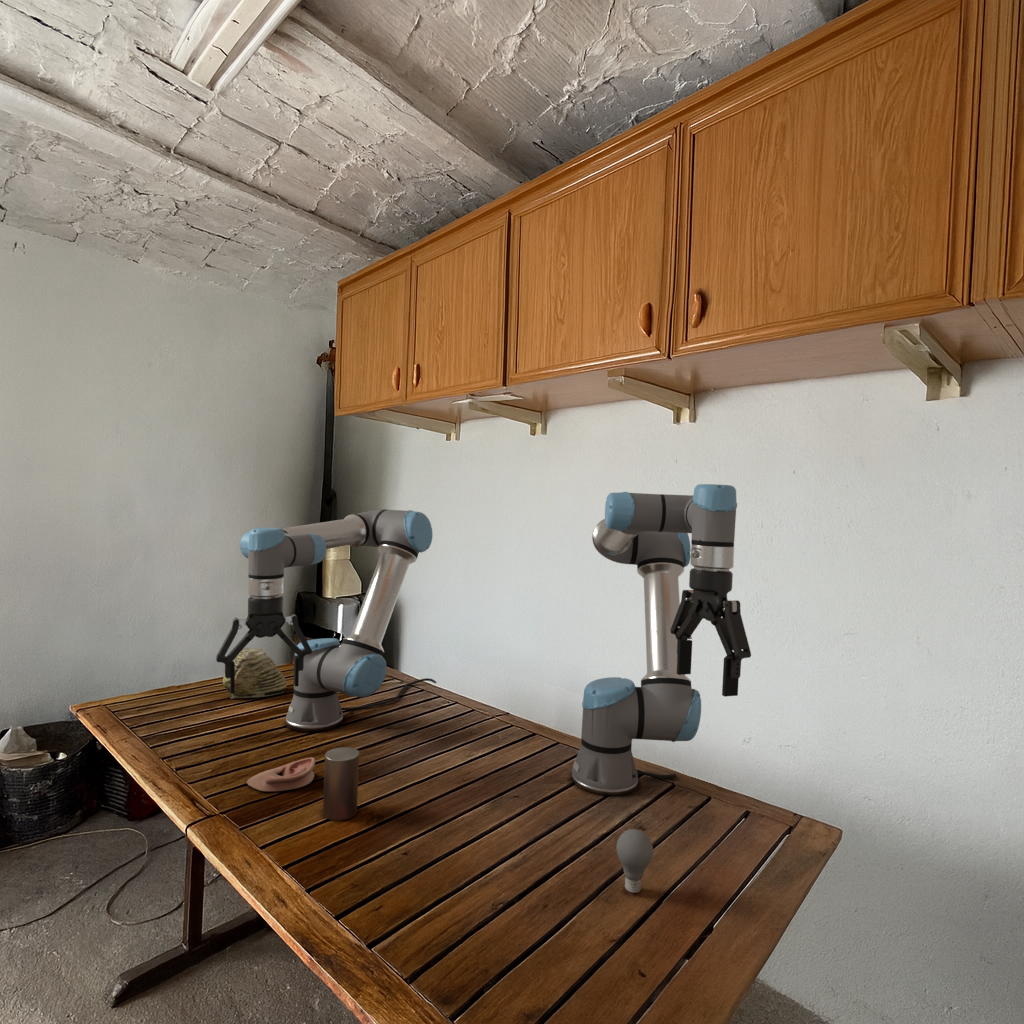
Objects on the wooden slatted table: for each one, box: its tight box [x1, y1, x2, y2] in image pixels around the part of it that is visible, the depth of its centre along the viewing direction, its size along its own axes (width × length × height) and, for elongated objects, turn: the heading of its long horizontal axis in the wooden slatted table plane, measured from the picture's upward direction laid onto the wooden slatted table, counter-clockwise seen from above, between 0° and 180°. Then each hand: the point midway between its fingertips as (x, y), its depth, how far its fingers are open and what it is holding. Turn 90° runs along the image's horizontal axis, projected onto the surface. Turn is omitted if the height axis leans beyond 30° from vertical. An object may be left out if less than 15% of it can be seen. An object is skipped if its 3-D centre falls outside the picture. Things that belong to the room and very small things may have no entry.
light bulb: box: [615, 828, 654, 894], centre depth 106 cm, size 6×6×10 cm
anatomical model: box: [246, 757, 316, 792], centre depth 140 cm, size 13×4×12 cm
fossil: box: [222, 646, 288, 699], centre depth 198 cm, size 9×18×15 cm, turn 132°
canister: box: [322, 746, 360, 822], centre depth 127 cm, size 7×7×12 cm
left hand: (264, 688), depth 145 cm, fingers open, 13 cm apart
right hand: (705, 684), depth 116 cm, fingers open, 13 cm apart
